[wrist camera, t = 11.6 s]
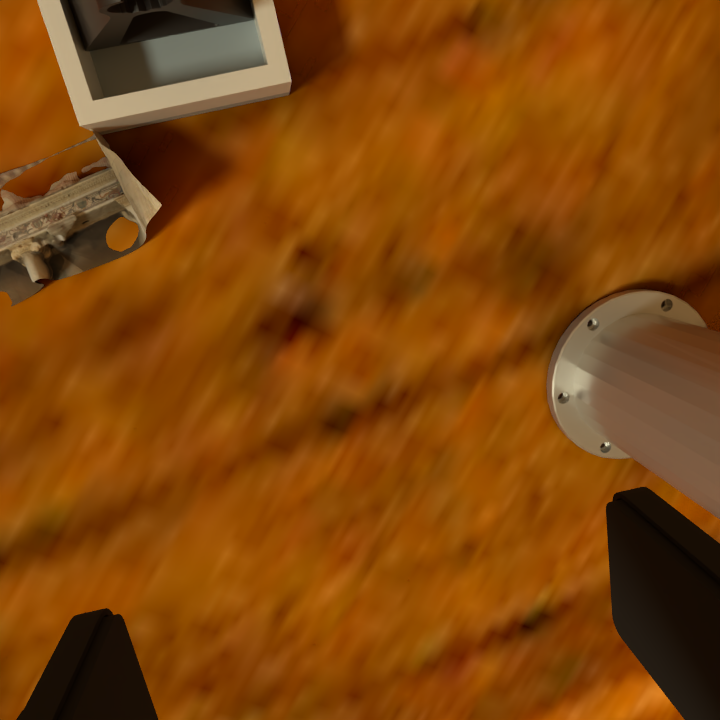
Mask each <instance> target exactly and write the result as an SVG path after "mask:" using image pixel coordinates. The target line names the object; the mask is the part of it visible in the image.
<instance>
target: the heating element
mask: <svg viewBox="0 0 720 720" xmlns="http://www.w3.org/2000/svg"><path fill="white" fill-rule="evenodd" d="M91 130H92V129H91ZM92 131H93V132H94V135H93V136H92V137H91V138H89V139H87V140H85V141H83V142H81V143H78V144H76V145H74V146H72V147H69V148H67V149H65V150H68V149H70V148H73V147H75V146H77V145H80V144H82V143H85V142H87V141H90V140H94V139H97V141H98V143H99V145H100V147H101V149H102V150H103V152H104V154H105V155H106V157H103V158H102V159H100V160H99V161H98V162H96V163H93V164H91V165H90V166H86V167H84V168H83V169H82V172H87V171H89V170H90V169H91V168H92V167H100V166H107V167H108V169H105V170H102V171H99V172H97V173H94V174H92V175H89V176H86V177H84V178H82V179H79V178H78V176H77V173H76V172H74V173H67V174H66V175H65V176H64V177H63V178H62V179H61V180H60V181H58V182H55V183H54V184H52V186H51V188H50V191H48V192H47V193H46V194H45V195H44V196H41V195H40V196H35V197H32V198H22V197H19V196H16V195H15V194H13V193H10V192H7V191H5V190H1V196H2V199H3V200H4V205H3V208H2V211H0V291H4V292H7V293H8V295H9V296H10V298H11V300H12V302H13V303H12V306H13V305H15V304H17V303H19V302H21V301H23V300H25V299H27V298H29V297H30V296H32V295H34V294H35V293H37V292H38V291H39V290H40V289H41V288H42V287H43V286H44V285H43V284H41V283H39V282H38V281H37V280H38V279H45V278H46V279H50V280H59V279H62V278H66V277H69V276H72V275H75V274H78V273H81V272H84V271H86V270H89V269H92V268H94V267H97V266H100V265H102V264H105V263H107V262H110V261H113V260H115V259H118V258H120V257H122V256H124V255H127V254H129V253H131V252H133V251H134V250H136V249H137V248H139V247H140V246H141V245H142V244H143V243H144V242H145V240H146V226H147V224H148V223H149V221H150V220H151V218H152V217H153V216H154V215H155V214H156V212H157V211H158V210H159V208H160V207H161V206H162V204H161V203H160V202H159V201H158V200H157V199H156V198H155V197H154V196H153V195H152V194H151V193H150V192H149V191H148V190H147V189H146V188H145V187H144V186H143V185H142V184H141V183H140V182H139V181H138V180H137V179H136V178H135V177H134V176H133V175H132V173H131V172H130V171H129V170H128V168H127V167H126V166H125V164H124V163H123V161H122V160H121V159H120V158H119V157H118V156H117V155H116V154H115V153H114V152H113V151H111V150H110V146H109V144H108V143H107V141H106V140H105V139H104V138H103V137H102V135H100V134H99V132H97V131H94V130H92ZM65 150H63V151H65ZM61 152H62V151H61ZM59 153H60V152H59ZM59 153H56V154H59ZM56 154H54V155H56ZM52 156H53V155H52ZM50 157H51V156H50ZM45 159H46V158H45ZM45 159H42V160H39V161H37V162H34V163H32V164H29V165H26V166H24V167H20V168H17V169H14V170H10V171H7V172H5V173H2V174H0V188H1V187H3V186H4V185H5V183H6V182H8V181H9V180H11V179H14V178H16V177H18V176H19V175H20V174H22V173H23V172H24V171H25V170H27V169H29V168H30V167H33V166H35V165H37V164H39V163H41V162H42V161H44V160H45ZM119 217H125V218H126V219H128V220H130V221H133V222H135V223H136V224H137V225H138V228H139V233H138V237H137V239H136V241H135V242H134V244H133V245H132V246H131V247H130V248H128V249H126V250H124V251H122V252H119V251H115V250H112V249H110V248H109V247H108V245H107V243H106V233H107V230H108V229H109V227H110V226H111V225H112V223H113V222H114V221H115V220H116V219H118V218H119Z"/></svg>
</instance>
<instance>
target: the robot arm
mask: <svg viewBox="0 0 720 720" xmlns="http://www.w3.org/2000/svg"><path fill="white" fill-rule="evenodd" d="M588 322H589V324H588ZM547 397H548V403H549V407H550V410H551V414H552V416H553V418H554V420H555V422H556V423H557V425H558V427H559V428H560V429H561V431H562V432H563V433H564V434H565V435H566V436H567V438H569V439H570V440H571V441H573V442H574V443H575V444H576V445H577V446H579V447H580V448H582V449H584V450H586V451H587V452H589V453H591V454H594V455H597V456H600V457H604V458H613V459H624V458H633V459H635V460H636V461H637V462H639V463H640V464H642V465H643V466H645V467H646V468H647V469H649V470H650V471H652V472H653V473H655V474H656V475H657V476H659V477H660V478H662V479H663V480H665V481H666V482H667V483H669V484H670V485H672V486H673V487H675V488H676V489H677V490H679V491H680V492H682V493H683V494H685V495H686V496H687V497H689V498H690V499H692V500H693V501H695V502H696V503H697V504H699V505H700V506H702V507H703V508H705V509H706V510H707V511H709V512H710V513H712V514H713V515H714V516H716V517H717V518H719V519H720V332H718V331H715V330H711V329H708V328H707V325H706V323H705V322H704V320H703V319H702V318H701V316H700V315H699V313H698V312H697V311H696V310H695V309H694V308H693V307H691V306H690V305H689V304H688V303H687V302H685V301H683V300H682V299H680V298H678V297H676V296H674V295H671V294H667V293H663V292H660V291H654V290H648V289H636V290H626V291H622V292H619V293H615V294H612V295H610V296H608V297H605V298H603V299H601V300H599V301H597V302H596V303H594V304H593V305H591V306H590V307H589V308H587V309H586V310H584V311H583V312H582V313H581V314H580V315H579V316H578V317H577V318H576V319H575V320H574V321H573V322H572V323H571V324H570V325H569V327H568V328H567V330H566V331H565V332H564V334H563V335H562V336H561V338H560V340H559V342H558V344H557V346H556V348H555V350H554V352H553V355H552V358H551V362H550V365H549V368H548V376H547ZM606 517H607V534H608V550H609V567H610V584H611V600H612V616H613V621H614V624H615V627H616V629H617V631H618V633H619V635H620V636H621V638H622V639H623V641H624V642H625V643H626V644H627V646H628V647H629V648H630V650H631V651H632V652H633V653H634V655H635V656H636V657H637V659H638V660H639V661H640V663H641V664H642V665H643V666H644V668H645V669H646V670H647V672H648V673H649V674H650V675H651V677H652V678H653V679H654V681H655V682H656V683H657V684H658V686H659V687H660V688H661V690H662V691H663V692H664V693H665V695H666V696H667V697H668V699H669V700H670V701H671V702H672V704H673V705H674V706H675V708H676V709H677V710H678V712H679V713H680V714H681V715H682V717H683V718H684V719H685V720H720V544H719V543H718V542H717V541H715V540H714V539H713V538H712V537H710V536H709V535H708V534H706V533H705V532H704V531H703V530H701V529H700V528H699V527H698V526H696V525H695V524H694V523H692V522H691V521H690V520H689V519H687V518H686V517H685V516H683V515H682V514H681V513H680V512H678V511H677V510H676V509H674V508H673V507H672V506H671V505H669V504H668V503H667V502H665V501H664V500H663V499H662V498H660V497H659V496H658V495H656V494H655V493H654V492H653V491H651V490H650V489H648V488H647V487H640V488H635V489H631V490H626V491H622V492H618V493H616V494H614V497H613V502H609V503H608V504H607V506H606ZM16 720H158V717H157V714H156V711H155V709H154V706H153V703H152V700H151V697H150V694H149V691H148V688H147V685H146V683H145V680H144V677H143V674H142V671H141V668H140V665H139V662H138V659H137V657H136V654H135V651H134V648H133V645H132V642H131V639H130V636H129V633H128V631H127V628H126V625H125V622H124V619H123V617H122V616H121V615H120V614H116V615H113V614H112V612H111V611H110V610H109V609H107V608H105V609H101V610H96V611H92V612H88V613H83V614H79V615H76V616H74V617H73V618H72V619H71V620H70V622H69V624H68V626H67V628H66V630H65V632H64V634H63V636H62V638H61V639H60V641H59V643H58V645H57V647H56V649H55V651H54V653H53V655H52V657H51V659H50V661H49V662H48V664H47V666H46V668H45V670H44V672H43V674H42V676H41V678H40V680H39V682H38V684H37V685H36V687H35V689H34V691H33V693H32V695H31V697H30V699H29V701H28V703H27V705H26V706H25V708H24V710H23V711H22V712H21V714H20V715H19V716H18V718H17V719H16Z"/></svg>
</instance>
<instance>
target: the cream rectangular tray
mask: <svg viewBox="0 0 720 720" xmlns="http://www.w3.org/2000/svg"><path fill="white" fill-rule="evenodd" d="M37 1H38V4H39V7H40V10H41V13H42V16H43V19H44V22H45V25H46V28H47V31H48V34H49V37H50V40H51V43H52V46H53V49H54V52H55V54H56V57H57V60H58V63H59V66H60V69H61V72H62V75H63V78H64V81H65V84H66V87H67V90H68V93H69V96H70V99H71V102H72V105H73V108H74V111H75V114H76V117H77V120H78V123H79V126H81V127H83V128H86V129H88V130H91V129H92V130H94V131H97V132H99V134H101V135H103V134H108V133H112V132H117V131H122V130H127V129H131V128H136V127H141V126H145V125H150V124H155V123H159V122H164V121H169V120H174V119H178V118H183V117H188V116H192V115H197V114H202V113H207V112H211V111H216V110H221V109H225V108H230V107H235V106H240V105H244V104H249V103H254V102H258V101H263V100H268V99H273V98H277V97H282V96H287V95H289V92H290V87H291V82H292V81H291V76H290V72H289V68H288V63H287V59H286V55H285V50H284V46H283V42H282V37H281V33H280V29H279V24H278V20H277V15H276V11H275V7H274V2H273V0H250V3H251V8H252V12H253V16H254V20H251V21H246V22H241V23H236V24H230V25H225V26H220V27H215V28H209V29H204V30H199V31H194V32H188V33H183V34H178V35H170V36H167V37H162V38H157V39H151V40H146V41H141V42H136V43H130V44H125V45H120V46H115V47H109V48H104V49H99V50H94V51H85V49H84V46H83V43H82V40H81V37H80V34H79V31H78V28H77V26H76V23H75V20H74V17H73V14H72V11H71V8H70V5H69V2H68V0H37ZM92 130H91V131H92Z"/></svg>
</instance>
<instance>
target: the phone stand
mask: <svg viewBox="0 0 720 720" xmlns="http://www.w3.org/2000/svg"><path fill="white" fill-rule="evenodd" d="M68 2H69V5H70V8H71V11H72V14H73V17H74V20H75V23H76V26H77V28H78V31H79V34H80V37H81V40H82V43H83V46H84V49H85V51H94V50H99V49H104V48H109V47H115V46H120V45H125V44H130V43H136V42H141V41H146V40H151V39H157V38H162V37H167V36H170V35H178V34H183V33H188V32H194V31H199V30H204V29H209V28H215V27H220V26H225V25H230V24H236V23H241V22H246V21H251V20H254V16H253V12H252V8H251V3H250V0H68Z"/></svg>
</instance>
